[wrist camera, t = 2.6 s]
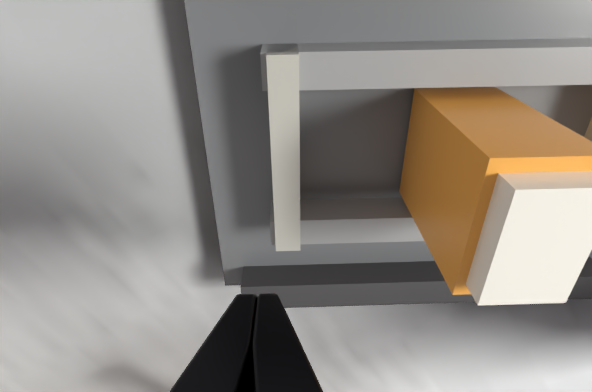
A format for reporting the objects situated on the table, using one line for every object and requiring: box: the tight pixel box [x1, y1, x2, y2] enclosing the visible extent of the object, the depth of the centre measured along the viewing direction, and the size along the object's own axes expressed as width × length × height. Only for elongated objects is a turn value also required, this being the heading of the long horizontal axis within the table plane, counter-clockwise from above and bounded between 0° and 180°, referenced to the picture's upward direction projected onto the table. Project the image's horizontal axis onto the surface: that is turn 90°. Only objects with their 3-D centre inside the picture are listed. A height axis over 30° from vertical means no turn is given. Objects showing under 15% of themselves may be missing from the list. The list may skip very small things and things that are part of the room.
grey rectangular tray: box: [184, 0, 592, 285], centre depth 15 cm, size 19×15×3 cm
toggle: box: [399, 87, 592, 306], centre depth 12 cm, size 3×4×7 cm
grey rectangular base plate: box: [241, 257, 592, 308], centre depth 15 cm, size 17×15×1 cm
